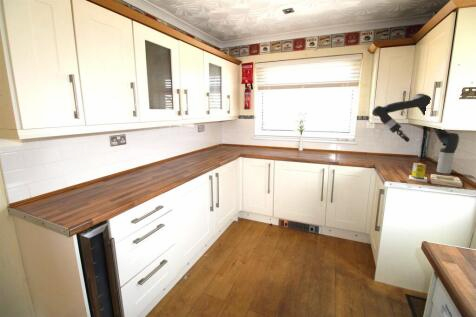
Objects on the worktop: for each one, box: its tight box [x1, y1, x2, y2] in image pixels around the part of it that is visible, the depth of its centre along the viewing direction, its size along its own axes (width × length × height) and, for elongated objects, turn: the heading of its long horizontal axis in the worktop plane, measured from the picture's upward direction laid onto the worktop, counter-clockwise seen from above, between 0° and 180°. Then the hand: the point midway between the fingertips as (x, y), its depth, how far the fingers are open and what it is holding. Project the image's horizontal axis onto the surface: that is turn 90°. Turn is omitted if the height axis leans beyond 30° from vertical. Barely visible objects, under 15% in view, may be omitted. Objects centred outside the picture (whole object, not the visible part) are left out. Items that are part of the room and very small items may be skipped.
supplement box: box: [411, 162, 427, 179], centre depth 178 cm, size 6×6×11 cm
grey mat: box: [408, 174, 428, 183], centre depth 179 cm, size 12×11×1 cm
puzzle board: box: [429, 173, 463, 188], centre depth 172 cm, size 20×16×2 cm
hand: (408, 140), depth 185 cm, fingers open, 8 cm apart
